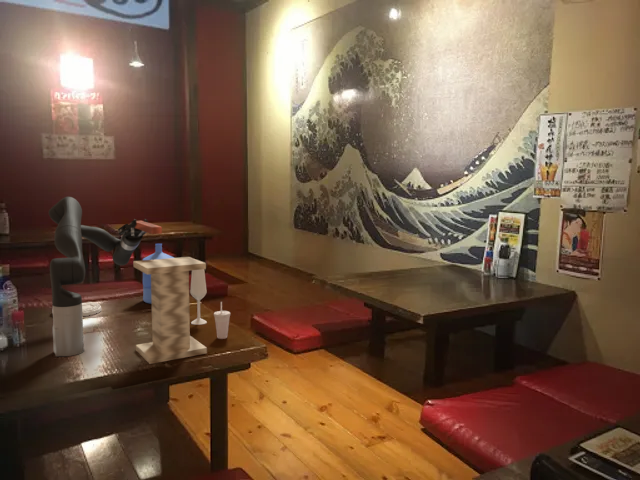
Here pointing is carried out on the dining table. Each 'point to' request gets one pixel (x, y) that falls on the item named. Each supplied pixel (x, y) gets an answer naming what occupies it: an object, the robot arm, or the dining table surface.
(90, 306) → the embossed medallion
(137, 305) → the dining table surface
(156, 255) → the water jug
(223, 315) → the smoothie
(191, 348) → the beech pedestal
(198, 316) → the champagne flute
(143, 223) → the lacquered bar
